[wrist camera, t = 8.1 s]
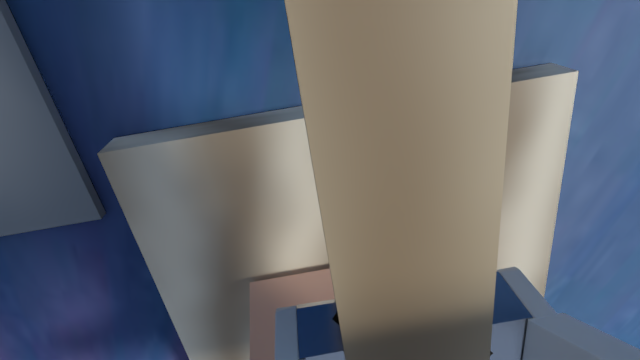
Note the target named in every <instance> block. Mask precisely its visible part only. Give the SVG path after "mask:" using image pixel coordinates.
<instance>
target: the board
mask: <svg viewBox="0 0 640 360" xmlns="http://www.w3.org/2000/svg"><path fill="white" fill-rule="evenodd" d="M578 72H579V71H577V70H574V69H570V68H567V67H564V66H560V65H557V64H554V63H548V64H542V65H536V66H531V67H525V68H519V69H513V70H512V80H511V93H510V105H509V118H508V131H507V144H506V157H505V170H504V182H503V195H502V208H501V221H500V234H499V247H498V259H497V270H499V269H504V268H509V267H517V268H518V269H520V271H521V272H522V273H523V274H524V275H525V276H526V278H527V279H528V280H529V281H530V282H531V283H532V285H533V286H534V287H535V288H536V289H537V291H538V292H539V293H540V294H541V295H542V296H543V298H544V293H545V287H546V280H547V274H548V267H549V261H550V254H551V248H552V241H553V235H554V228H555V222H556V215H557V209H558V202H559V195H560V189H561V182H562V176H563V169H564V163H565V156H566V150H567V143H568V137H569V130H570V124H571V117H572V111H573V104H574V98H575V91H576V85H577V78H578ZM97 155H98V157H99V159H100V161H101V164H102V166H103V168H104V170H105V173H106V175H107V177H108V179H109V181H110V184H111V186H112V188H113V190H114V193H115V195H116V197H117V199H118V202H119V204H120V206H121V208H122V210H123V213H124V215H125V217H126V219H127V222H128V224H129V226H130V228H131V231H132V233H133V235H134V237H135V239H136V242H137V244H138V246H139V248H140V251H141V253H142V255H143V257H144V260H145V262H146V264H147V266H148V268H149V271H150V273H151V275H152V277H153V280H154V282H155V284H156V286H157V288H158V291H159V293H160V295H161V297H162V300H163V302H164V304H165V306H166V309H167V311H168V313H169V315H170V317H171V320H172V322H173V324H174V326H175V329H176V331H177V333H178V335H179V338H180V340H181V342H182V344H183V346H184V349H185V351H186V353H187V355H188V358H189V360H250V282H256V281H261V280H267V279H273V278H278V277H284V276H290V275H295V274H301V273H307V272H312V271H318V270H324V269H329V268H330V267H329V261H328V255H327V249H326V243H325V237H324V232H323V226H322V220H321V214H320V208H319V202H318V196H317V190H316V185H315V179H314V173H313V167H312V161H311V155H310V149H309V143H308V137H307V132H306V126H305V120H304V114H303V108H302V106H297V107H291V108H286V109H280V110H274V111H268V112H262V113H256V114H251V115H245V116H239V117H233V118H227V119H221V120H216V121H210V122H204V123H198V124H192V125H186V126H181V127H175V128H169V129H163V130H157V131H151V132H146V133H140V134H134V135H128V136H122V137H116V138H113V139H112V140H111V141H110V142H109V143H108V144H107V145H106V146H105V147H104V148H103V149H102V150H101V151H99V152H98V153H97Z"/></svg>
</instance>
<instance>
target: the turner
mask: <svg viewBox="0 0 640 360" xmlns="http://www.w3.org/2000/svg"><path fill="white" fill-rule="evenodd" d="M284 2H285V8H286V14H287V20H288V26H289V32H290V37H291V43H292V49H293V55H294V61H295V67H296V73H297V79H298V84H299V90H300V96H301V102H302V108H303V114H304V120H305V126H306V132H307V137H308V143H309V149H310V155H311V161H312V167H313V173H314V179H315V185H316V190H317V196H318V202H319V208H320V214H321V220H322V226H323V232H324V237H325V243H326V249H327V255H328V261H329V267H330V273H331V279H332V285H333V290H334V296H335V301H336V307H337V313H338V319H339V325H340V330H341V336H342V342H343V347H344V353H345V359H346V360H490V349H491V336H492V323H493V311H494V298H495V285H496V272H497V259H498V247H499V234H500V221H501V208H502V195H503V182H504V170H505V157H506V144H507V131H508V118H509V105H510V93H511V80H512V67H513V54H514V41H515V29H516V16H517V3H518V0H284Z"/></svg>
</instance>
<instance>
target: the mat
mask: <svg viewBox="0 0 640 360" xmlns="http://www.w3.org/2000/svg"><path fill="white" fill-rule="evenodd" d="M105 214H106V212H105V210H104V208H103V206H102V204H101V201H100V199H99V197H98V195H97V193H96V191H95V189H94V187H93V185H92V182H91V180H90V178H89V176H88V174H87V172H86V170H85V168H84V166H83V163H82V161H81V159H80V157H79V155H78V153H77V151H76V149H75V146H74V144H73V142H72V140H71V138H70V136H69V134H68V132H67V130H66V127H65V125H64V123H63V121H62V119H61V117H60V115H59V113H58V111H57V108H56V106H55V104H54V102H53V100H52V98H51V96H50V94H49V92H48V89H47V87H46V85H45V83H44V81H43V79H42V77H41V75H40V72H39V70H38V68H37V66H36V64H35V62H34V60H33V58H32V56H31V53H30V51H29V49H28V47H27V45H26V43H25V41H24V39H23V37H22V34H21V32H20V30H19V28H18V26H17V24H16V22H15V20H14V17H13V15H12V13H11V11H10V9H9V7H8V5H7V3H6V1H5V0H0V237H1V236H7V235H12V234H18V233H24V232H30V231H35V230H41V229H47V228H53V227H58V226H64V225H70V224H76V223H81V222H87V221H93V220H99V219H102V218H103V216H104V215H105Z"/></svg>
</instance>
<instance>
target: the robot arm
mask: <svg viewBox="0 0 640 360" xmlns="http://www.w3.org/2000/svg"><path fill="white" fill-rule="evenodd" d="M275 360H346V359H345V353H344V347H343V342H342V336H341V330H340V325H339V319H338V313H337V307H336V301H335V299H332V300H325V301H319V302H312V303H305V304H299V305H296V306H289V307H282V308H277V309H276V313H275ZM490 360H640V349H638V348H636V347H633V346H631V345H629V344H627V343H625V342H623V341H621V340H619V339H617V338H615V337H613V336H611V335H609V334H606V333H604V332H602V331H600V330H598V329H596V328H594V327H592V326H590V325H588V324H586V323H584V322H581V321H579V320H577V319H575V318H573V317H571V316H569V315H567V314H565V313H560V314H557V313H556V312H555V310H554V309H553V308H552V307H551V306H550V305H549V303H548V302H547V301H546V300H545V299H544V298H543V296H542V295H541V294H540V293H539V292H538V291H537V289H536V288H535V287H534V286H533V285H532V283H531V282H530V281H529V280H528V279H527V278H526V276H525V275H524V274H523V273H522V272H521V271H520V269H518V268H517V267H509V268H504V269H499V270H497V272H496V285H495V298H494V311H493V323H492V336H491V349H490Z"/></svg>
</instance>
